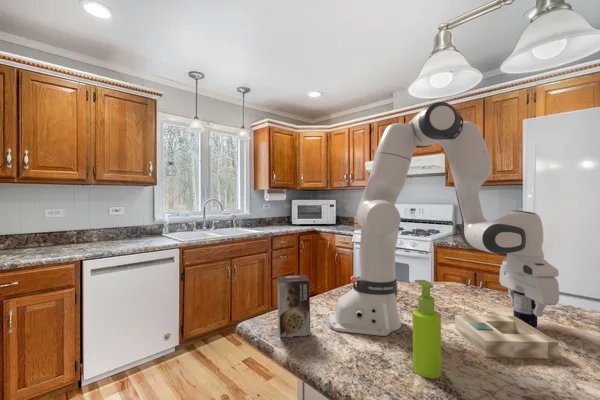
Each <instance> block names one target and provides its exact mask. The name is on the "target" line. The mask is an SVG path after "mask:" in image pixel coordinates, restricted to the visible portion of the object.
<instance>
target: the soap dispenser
mask: <svg viewBox="0 0 600 400" xmlns="http://www.w3.org/2000/svg"><path fill="white" fill-rule="evenodd" d="M414 283H417V284H419V285H420V286H421V294H420V295H418V296H417V298H418V299H417V308H415V309H413V310H412V369H413V371H414V372H415V373H416V374H417V375H419V376H421V377H423V378H426V379H437V378H440V377H441V376H442V327H441V326H442V322H441V321H442V318H441V316H442V315H441V314H440V312H438V311H436V310H435V298H434V297H433V296H431V289H433V288H434V284H432V283H431V282H430V281H428V280H425V279H415V280H414Z"/></svg>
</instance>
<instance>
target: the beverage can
mask: <svg viewBox="0 0 600 400" xmlns="http://www.w3.org/2000/svg"><path fill="white" fill-rule="evenodd" d="M512 304H513V316H515V317H517V318H518V319H520V320H522V321H523V322H525V323H527V324H528V325H530V326H532V327H534V328H535V329H537V328H538V317H537V316H535V315H534V314H533V310H532V309H535V307H536V304H535V301H534V300H532V299H530V298H528V297H526V296H525V294H524V291H523V289H521V288H518V287H516V286H515V288H514V290H513V303H512Z"/></svg>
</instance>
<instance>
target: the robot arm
mask: <svg viewBox="0 0 600 400" xmlns="http://www.w3.org/2000/svg"><path fill="white" fill-rule="evenodd" d="M434 144H437V145H438V146H440V147H441V148H442V149H443V151H444V153H445V154H446V155H445V156H446V158H447V162H448V165H449V168H450V169H449V170H450V172H451V174H452V178H453V183H454V189H455V195H456V200H457V203H458V208H459V212H460V217H461V229H460V236H461V240H462V241H463V243H464V244H465V245H466V246H467V247H468V248H471V249H473V250H478V251H479V250H480V251H482V252H483V251H484V252H486V253H490V254H494V255H504V254H506V258H505V259H503V260H502V262H501V263H502V264H501V265H500V268H499V276H498V277H499V283H500V285H501V286H502V287H503V288H507V291H508V295H509V297H510V303H511V304H513V290H514V288H515V286H516V287H518V288H521V289H523V291H524V294H525V296H526V297H528V298H530V299H532V300H534V301H535V304H536V307H535V309H532V310H533V314H534V315H535V316H537V318H538V317H539V318H541V317H543V316H544V310H545V308H546V306H557V305H558V303H559V302H560V287H559V286H560V285H559V281H558V279H557V277H559V274H560V273H559V269H558V268H556V267H555V266H554V265H552V264H551V263H549V262H548V260H546V259H545V255H544V254H545V253H544V251H543V244H544V229H543V227H544V226H543V222H542V219H541V216H539V214H537V213H536V212H533V211H532V212H531V211H525V210H513V209H512V210H510V211H509V212H508V213H506V214H505V215H503V216H501V217H499V218H497V219H495V220H492V221H491V220H490V221H488V220H487V219H486V218H485V216H484V214H483V210H482V205H481V199H480V197H479V195H480V194H479V192H480V189H481V187H482V185H483V184H484V183H485V182H486V181H487V180H488V179H489V178H490V176H491V174H492V171H493V164H492V158H491V154H490V151H489V149H488V146H487V143H486V141H485V139H484V137H483V134H482V133H481V131H480V129H479V127H478V126H477V125H476V123H474V122H473V121H469V120H464V118H463V116H461V115H460V114H459V111H457V110H456V108H455V106H453V105H451V104H450V103H448V102H444V101H437V102H434V103H431V104H429V105H426V106H425V107H424V108H423V109H422V110H420V111H418V113H417V114H415V115H414V116H413V118H411V120H410V121H408V123H403V122H395V123H391V124H389V125H388V126H387V127H386V128H385V129H384V131H383V133H382V136H381V137H380V140H379V142H378V145H377V148H376V151H375V155H374V158H373V161H372V166H371V169H370V173H369V176H368V180H367V182H366V184H365V188H364V190H363V193H362V196H361V199H360V202H359V204H358V208H357V211H356V221H357V222H358V225H359V226H360V243H359V244H360V245H359V251H358V256H359V257H358V263H359V264H358V269H359V270H358V271H359V274H358V276H356V275H351V277H349V278H350V282H351V283H352V288H351V289H350V290H349V291H348V292H346V293H344V294H343V295H341V296H340V297H339V298H338V299H337V303H336V307H335V310H332V311H331V312H330V313H329V316H328V323H329V326H330V327H331V328H332V329H333V331H337V332H343V333H344V332H345V333H352V334H353V333H354V334H364V335H371V336H372V335H373V336H382V337H387V336H389V335H390V334H391V332H395V331H397V330H399V329H400V328H401V327H402V322H401V318H400V314H399V309H398V304H397V297H398V282H397V278H396V251H397V243H398V237H399V229H400V228H399V227H400V225H401V220H402V219H401V214H400V211H399V210H398V208H397V207H396V203H397V201H398V198H399V196H400V193H401V192H402V190H403V189H404V188H405V187H404V186H405V184H406V181H407V177H408V172H409V170H410V166H411V163H412V159H413V155H414V152H415V150H416V148H427V147H430V146H431V145H434Z"/></svg>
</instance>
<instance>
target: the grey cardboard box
mask: <svg viewBox="0 0 600 400" xmlns="http://www.w3.org/2000/svg"><path fill="white" fill-rule="evenodd" d="M276 279H277V282H276V283H277V287H276V288H277V290H276V291H277V329H278V330H277V331H278V336H280V337H289V338H294V337H293V336H299V337H307V335H309V336H311V334H312V333H311V307H310V306H311V303H310V302H311V299H310V297H311V295H310V293H311V292H310V279H309V278H308V277H307V275H306V274H301V275H300V274H298V275H296V274H295V275H283V276H281V275H280V276H277V277H276ZM280 337H279V338H280Z"/></svg>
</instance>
